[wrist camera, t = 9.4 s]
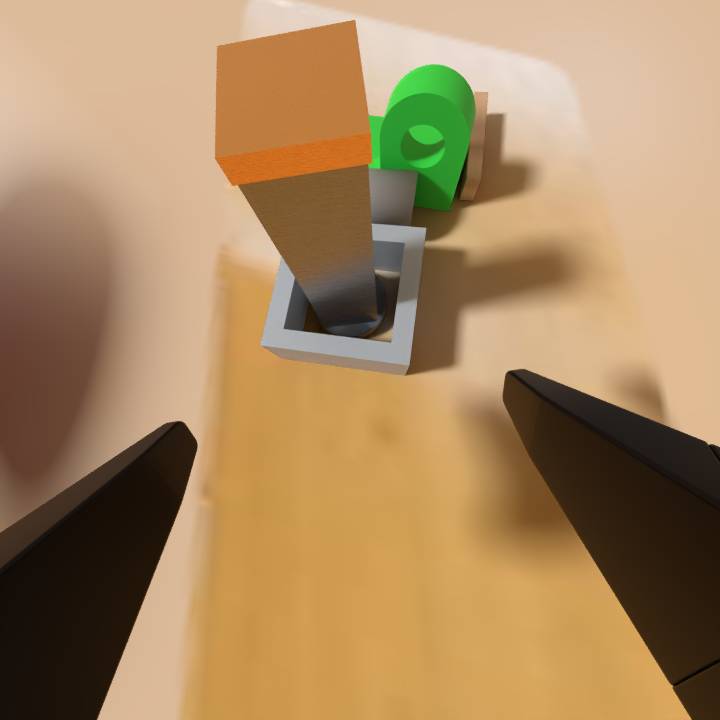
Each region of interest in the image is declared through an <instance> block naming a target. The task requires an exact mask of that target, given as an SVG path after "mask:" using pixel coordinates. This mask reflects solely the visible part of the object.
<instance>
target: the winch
mask: <svg viewBox="0 0 720 720" xmlns="http://www.w3.org/2000/svg"><path fill="white" fill-rule="evenodd" d="M417 176H418V171H417V170H398V169H379V168H369V185H370V202H371V219H372V236H373V253H374V269H375V270H385V271H396V272H401V276H400V283H399V290H398V297H397V304H396V312H395V319H394V326H393V333H392V340H391V343H390V342H382V341H374V340H366V339H358V338H350V337H342V336H335V335H327V334H319V333H311V332H303V329H304V324H305V320H306V315H307V310H308V305H309V300H308V298H307V297H306V295H305V293H304V292H303V290H302V289H301V287H300V285H299V284H298V282H297V280H296V279H295V277H294V276H293V274H292V272H291V271H290V269H289V267H288V266H287V264H286V262H285V261H284V259H283V258H282V257H281V261H280V265H279V269H278V274H277V278H276V282H275V286H274V290H273V294H272V299H271V303H270V307H269V311H268V315H267V319H266V324H265V328H264V332H263V336H262V340H261V346H262V347H264V348H266V349H267V350H269V351H270V352H272V353H274V354H275V355H277V356H278V357H280V358H283V359H290V360H297V361H305V362H312V363H319V364H326V365H333V366H340V367H347V368H354V369H362V370H369V371H376V372H383V373H390V374H397V375H404V376H405V374H406V372H407V370H408V368H409V365H410V357H411V348H412V340H413V332H414V324H415V316H416V308H417V300H418V292H419V284H420V276H421V267H422V259H423V251H424V243H425V235H426V228H422V227H411V221H412V213H413V206H414V199H415V191H416V184H417Z"/></svg>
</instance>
